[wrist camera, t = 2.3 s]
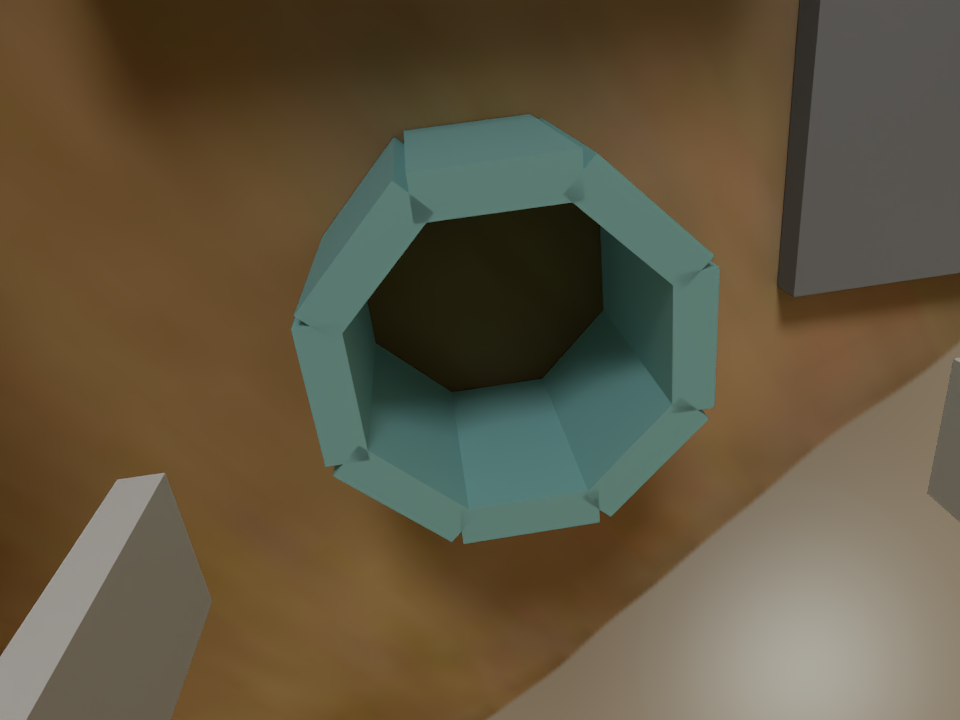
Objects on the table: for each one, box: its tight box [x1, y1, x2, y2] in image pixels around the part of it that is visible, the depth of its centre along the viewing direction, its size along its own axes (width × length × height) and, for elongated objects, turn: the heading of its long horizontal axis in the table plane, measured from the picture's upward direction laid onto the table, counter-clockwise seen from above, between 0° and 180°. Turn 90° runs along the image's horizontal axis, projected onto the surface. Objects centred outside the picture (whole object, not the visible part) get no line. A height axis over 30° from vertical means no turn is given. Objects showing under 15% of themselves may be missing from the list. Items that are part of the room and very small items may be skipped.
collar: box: [291, 114, 720, 544], centre depth 18 cm, size 9×9×6 cm
